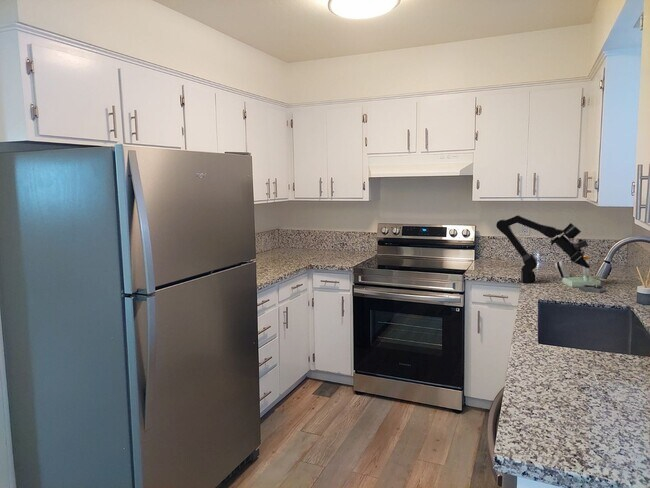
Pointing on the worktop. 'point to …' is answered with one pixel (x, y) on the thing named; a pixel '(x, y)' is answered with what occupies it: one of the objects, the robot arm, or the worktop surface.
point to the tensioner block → (592, 288)
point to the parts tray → (580, 281)
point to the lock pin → (585, 269)
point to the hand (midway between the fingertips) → (589, 266)
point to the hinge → (561, 270)
